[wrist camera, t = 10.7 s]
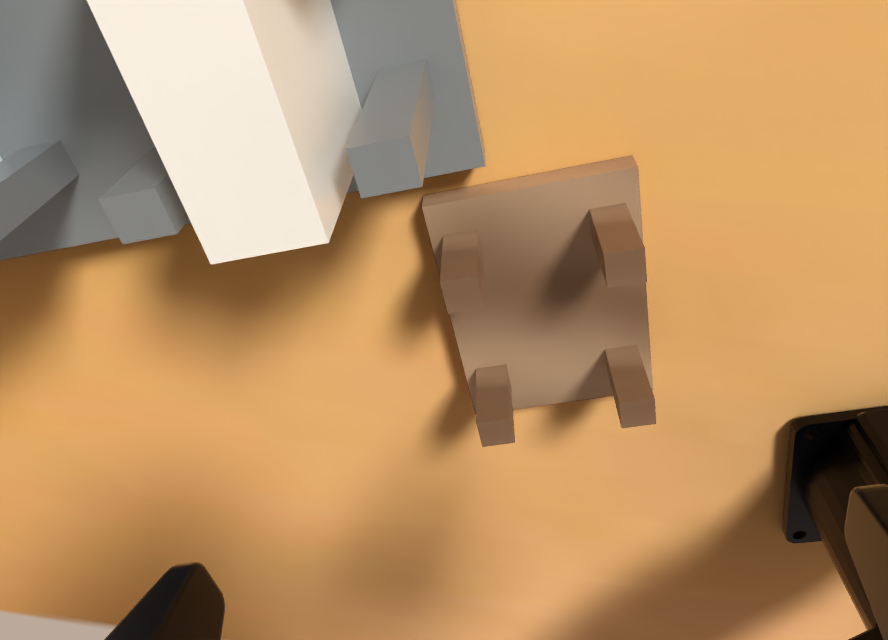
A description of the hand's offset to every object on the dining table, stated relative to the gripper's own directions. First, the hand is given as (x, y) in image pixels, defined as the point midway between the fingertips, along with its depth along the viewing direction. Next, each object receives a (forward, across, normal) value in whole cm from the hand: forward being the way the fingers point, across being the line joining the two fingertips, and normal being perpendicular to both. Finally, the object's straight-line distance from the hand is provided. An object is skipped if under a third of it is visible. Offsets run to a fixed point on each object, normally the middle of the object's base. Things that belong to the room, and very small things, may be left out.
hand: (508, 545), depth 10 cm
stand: (+12, -1, +4) cm, 13 cm away
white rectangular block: (+11, +4, -6) cm, 13 cm away
